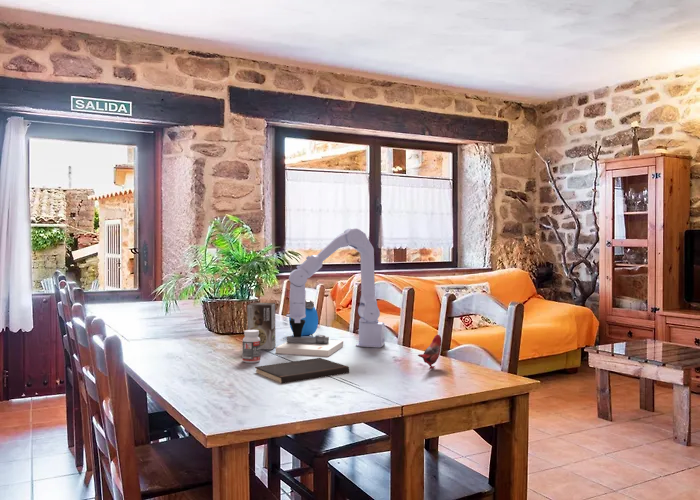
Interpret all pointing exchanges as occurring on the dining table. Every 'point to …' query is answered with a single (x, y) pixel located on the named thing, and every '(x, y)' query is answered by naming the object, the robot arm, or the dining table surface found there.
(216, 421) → the dining table surface
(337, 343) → the cover plate
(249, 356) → the pill bottle
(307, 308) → the alarm clock
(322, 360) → the hardcover book
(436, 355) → the decorative bird figurine
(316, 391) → the dining table surface
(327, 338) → the latch handle
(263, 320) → the coffee box
